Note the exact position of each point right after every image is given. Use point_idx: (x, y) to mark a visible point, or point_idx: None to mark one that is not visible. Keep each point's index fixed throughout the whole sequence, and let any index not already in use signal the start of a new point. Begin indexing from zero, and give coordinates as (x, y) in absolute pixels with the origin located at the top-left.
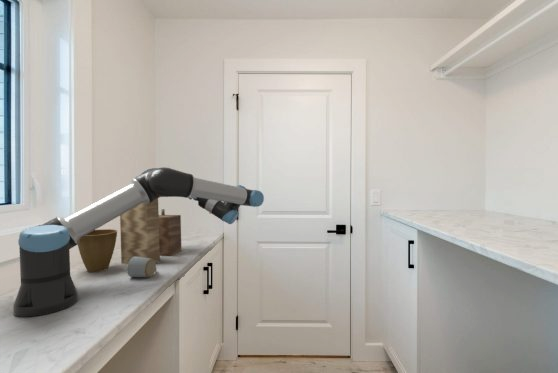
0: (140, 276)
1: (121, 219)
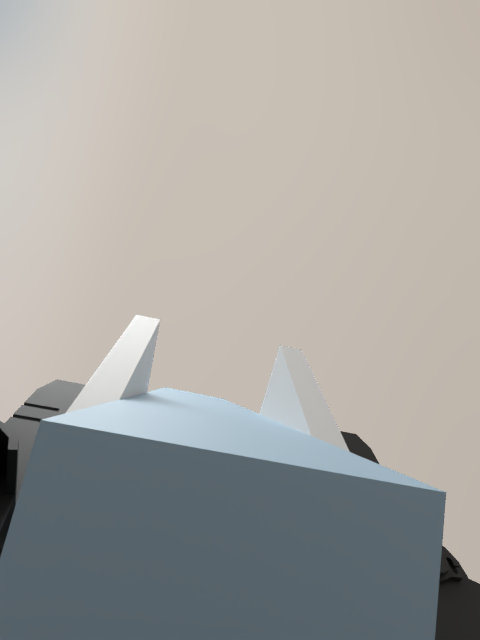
0: None
1: None
